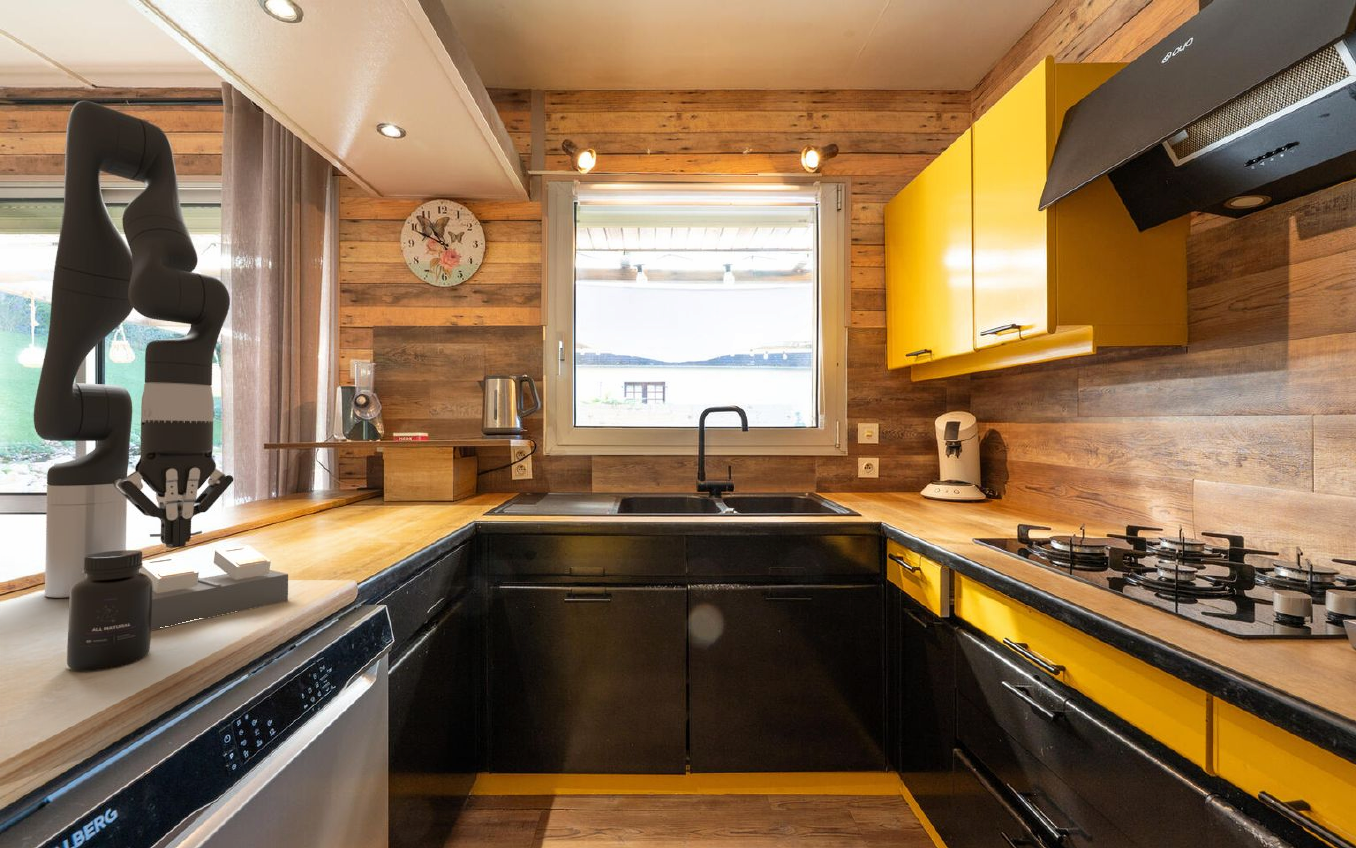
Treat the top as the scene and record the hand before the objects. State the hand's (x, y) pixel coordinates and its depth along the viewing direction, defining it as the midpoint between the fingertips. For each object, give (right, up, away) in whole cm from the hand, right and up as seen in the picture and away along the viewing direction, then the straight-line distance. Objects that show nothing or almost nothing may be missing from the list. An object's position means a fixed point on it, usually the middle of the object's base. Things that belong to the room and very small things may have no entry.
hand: (175, 546), depth 81 cm
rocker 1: (-2, -4, +1) cm, 5 cm away
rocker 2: (+3, -4, +9) cm, 10 cm away
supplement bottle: (+4, -10, -14) cm, 18 cm away
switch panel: (0, -10, +5) cm, 11 cm away
